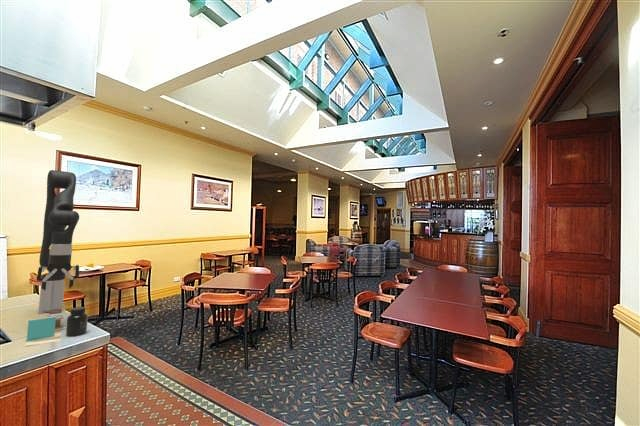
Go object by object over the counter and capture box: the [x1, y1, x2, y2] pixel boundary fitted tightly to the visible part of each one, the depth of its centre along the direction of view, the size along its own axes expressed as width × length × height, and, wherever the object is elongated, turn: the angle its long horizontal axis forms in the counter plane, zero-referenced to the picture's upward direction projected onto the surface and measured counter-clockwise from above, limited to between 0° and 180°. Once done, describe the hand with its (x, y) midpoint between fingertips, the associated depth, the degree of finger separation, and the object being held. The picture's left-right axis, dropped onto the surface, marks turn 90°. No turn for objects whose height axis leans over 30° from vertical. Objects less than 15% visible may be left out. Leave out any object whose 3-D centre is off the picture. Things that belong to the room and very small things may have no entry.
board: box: [25, 325, 62, 348], centre depth 120 cm, size 26×10×1 cm, turn 43°
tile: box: [26, 316, 56, 342], centre depth 116 cm, size 2×8×8 cm, turn 133°
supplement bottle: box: [65, 306, 89, 338], centre depth 122 cm, size 7×7×12 cm
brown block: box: [47, 308, 64, 327], centre depth 126 cm, size 11×5×7 cm, turn 43°
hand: (57, 288), depth 129 cm, fingers open, 8 cm apart
